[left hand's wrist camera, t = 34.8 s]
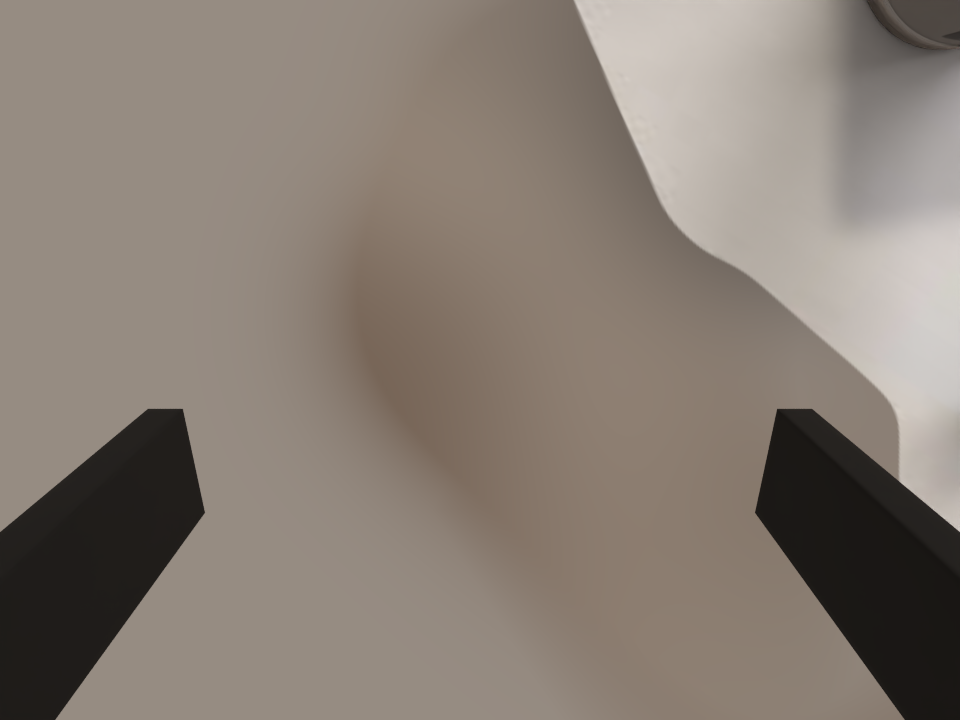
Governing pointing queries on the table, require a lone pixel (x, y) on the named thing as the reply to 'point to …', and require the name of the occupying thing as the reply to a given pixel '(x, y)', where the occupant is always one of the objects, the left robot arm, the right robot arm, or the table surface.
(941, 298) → the table surface
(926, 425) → the table surface
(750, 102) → the table surface
